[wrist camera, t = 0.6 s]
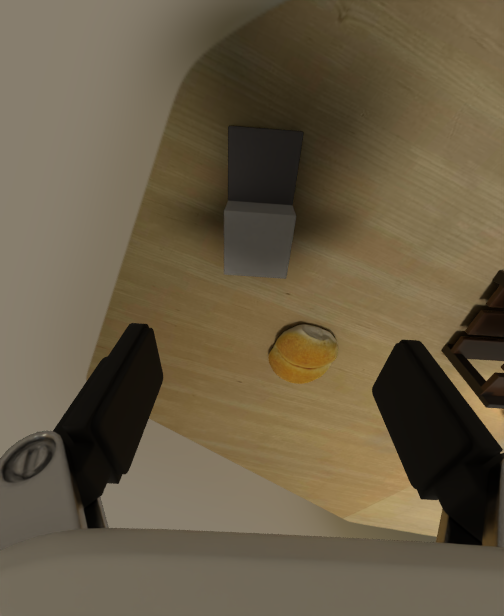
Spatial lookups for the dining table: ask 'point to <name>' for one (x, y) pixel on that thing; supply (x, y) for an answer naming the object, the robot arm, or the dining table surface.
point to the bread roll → (303, 353)
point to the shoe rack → (483, 350)
